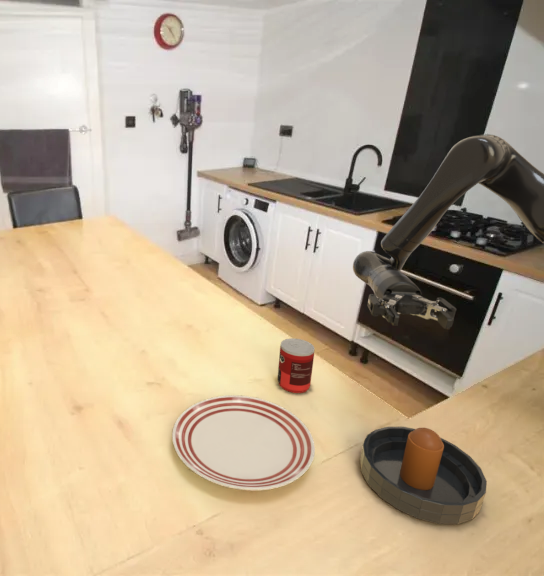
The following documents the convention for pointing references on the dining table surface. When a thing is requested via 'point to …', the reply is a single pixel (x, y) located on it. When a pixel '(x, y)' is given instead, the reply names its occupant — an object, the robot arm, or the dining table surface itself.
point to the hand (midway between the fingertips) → (422, 322)
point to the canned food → (295, 365)
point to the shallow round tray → (423, 503)
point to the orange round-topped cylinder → (421, 458)
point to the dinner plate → (243, 442)
